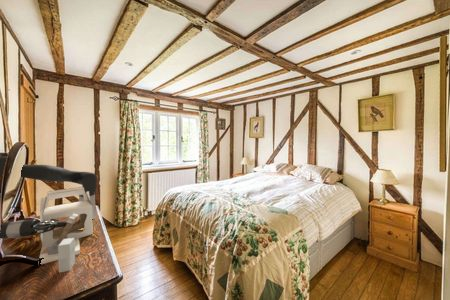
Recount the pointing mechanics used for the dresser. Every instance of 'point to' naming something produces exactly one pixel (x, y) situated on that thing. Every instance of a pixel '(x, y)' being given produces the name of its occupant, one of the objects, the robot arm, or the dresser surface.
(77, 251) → the switch panel
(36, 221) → the robot arm
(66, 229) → the breaker lever
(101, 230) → the dresser surface
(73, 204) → the gable box
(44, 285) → the dresser surface
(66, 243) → the skincare box
